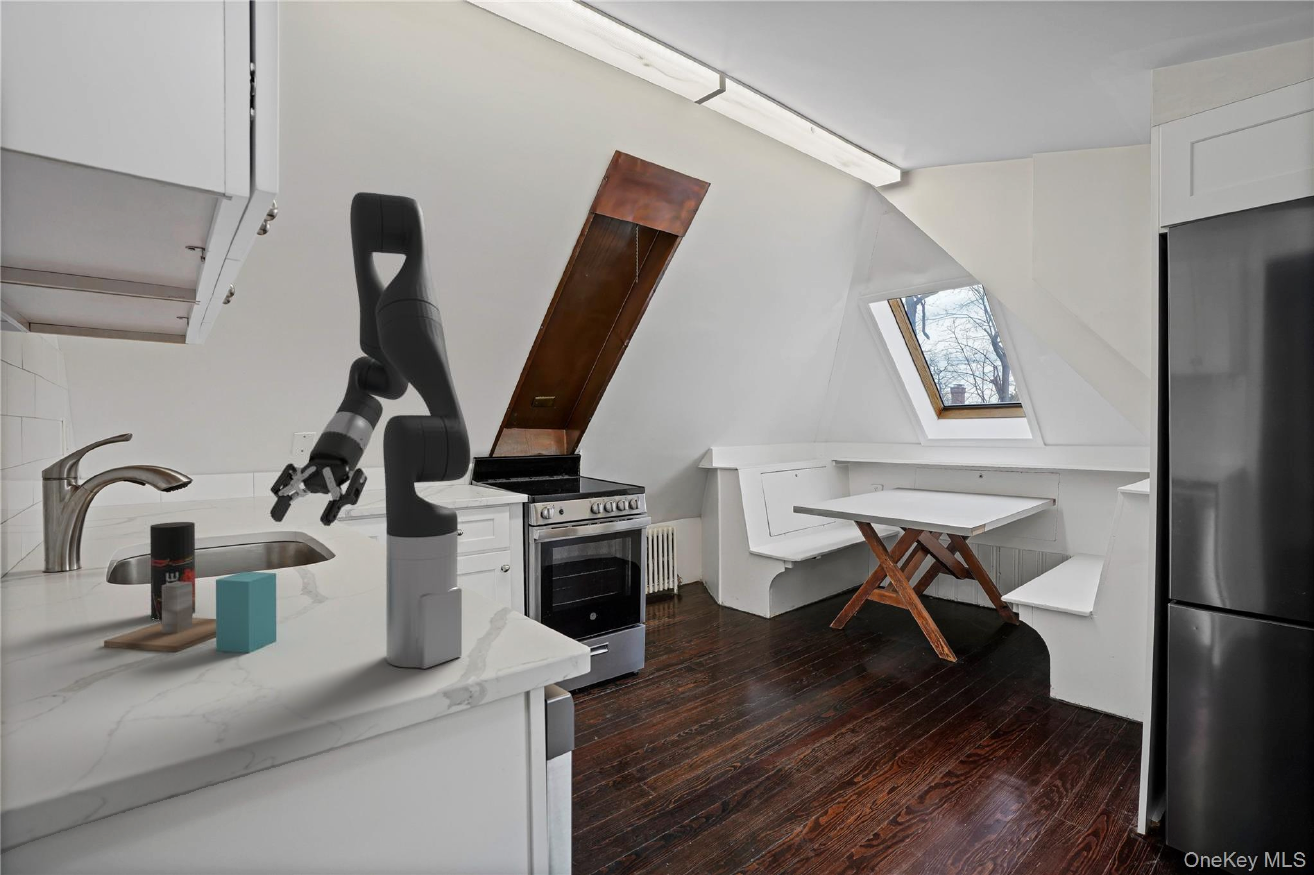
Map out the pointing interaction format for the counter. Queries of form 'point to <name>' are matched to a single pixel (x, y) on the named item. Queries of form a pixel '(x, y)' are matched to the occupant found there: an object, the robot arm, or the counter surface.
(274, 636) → the teal block
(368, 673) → the counter surface
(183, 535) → the deodorant
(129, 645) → the post board
